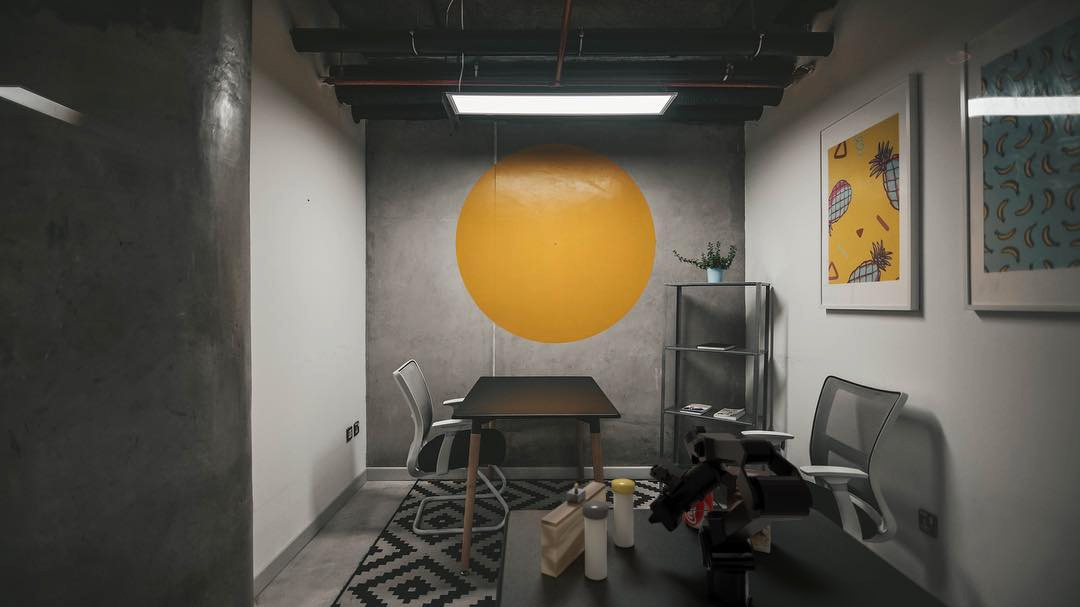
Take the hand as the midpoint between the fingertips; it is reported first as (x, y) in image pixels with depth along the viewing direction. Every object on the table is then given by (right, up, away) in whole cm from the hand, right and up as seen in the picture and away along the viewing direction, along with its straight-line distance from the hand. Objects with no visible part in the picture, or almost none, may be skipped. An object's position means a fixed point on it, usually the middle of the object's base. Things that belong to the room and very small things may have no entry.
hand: (649, 521), depth 100 cm
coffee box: (+24, -7, +4) cm, 25 cm away
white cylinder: (-5, -7, +3) cm, 9 cm away
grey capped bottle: (-13, -7, -9) cm, 17 cm away
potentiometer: (-16, +4, +2) cm, 17 cm away
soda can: (+15, -7, +13) cm, 21 cm away
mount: (-16, -7, +2) cm, 18 cm away
